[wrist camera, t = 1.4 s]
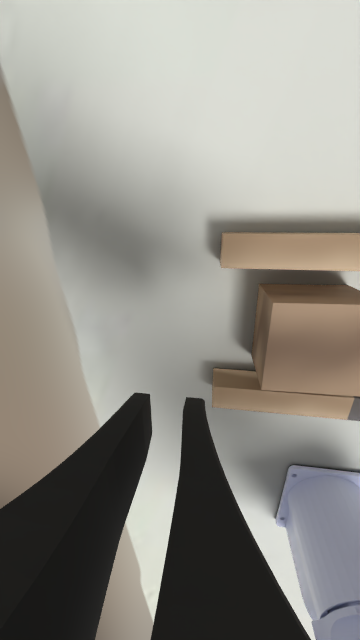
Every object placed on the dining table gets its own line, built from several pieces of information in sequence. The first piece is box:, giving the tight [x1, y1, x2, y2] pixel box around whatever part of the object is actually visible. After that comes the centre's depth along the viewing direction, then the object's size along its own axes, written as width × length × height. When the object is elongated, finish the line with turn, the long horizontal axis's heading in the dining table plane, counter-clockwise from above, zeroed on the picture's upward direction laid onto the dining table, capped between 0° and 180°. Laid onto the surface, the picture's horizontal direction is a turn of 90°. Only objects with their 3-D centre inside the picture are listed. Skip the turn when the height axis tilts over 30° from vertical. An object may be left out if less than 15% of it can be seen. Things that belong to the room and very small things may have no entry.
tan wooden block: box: [251, 284, 360, 397], centre depth 16 cm, size 6×6×4 cm
